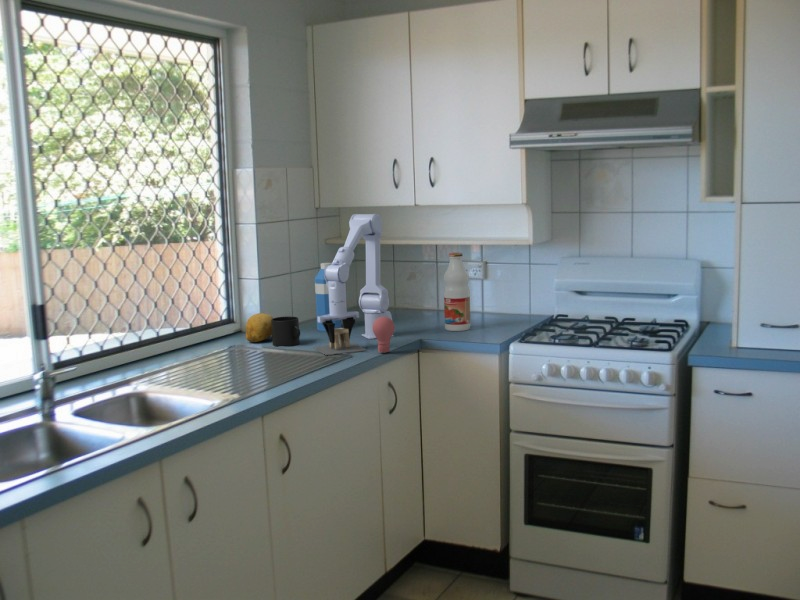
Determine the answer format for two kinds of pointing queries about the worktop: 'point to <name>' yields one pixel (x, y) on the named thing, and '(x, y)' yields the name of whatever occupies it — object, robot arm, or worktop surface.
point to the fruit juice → (456, 295)
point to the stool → (340, 338)
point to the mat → (340, 349)
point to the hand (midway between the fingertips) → (339, 341)
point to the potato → (258, 327)
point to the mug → (285, 331)
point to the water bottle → (323, 297)
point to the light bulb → (383, 332)
